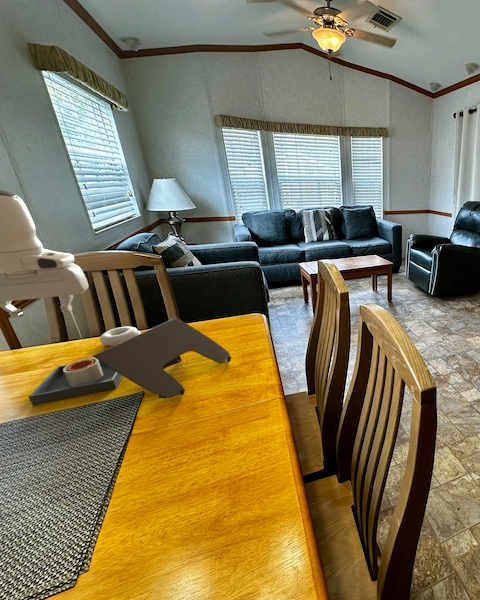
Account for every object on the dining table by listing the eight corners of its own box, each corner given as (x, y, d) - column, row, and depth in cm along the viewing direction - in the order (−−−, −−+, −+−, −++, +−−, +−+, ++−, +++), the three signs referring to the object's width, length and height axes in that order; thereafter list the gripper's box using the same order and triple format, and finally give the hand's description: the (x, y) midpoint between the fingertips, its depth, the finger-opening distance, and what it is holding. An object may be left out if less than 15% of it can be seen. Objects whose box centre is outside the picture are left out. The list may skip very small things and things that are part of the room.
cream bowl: (64, 389, 83) (57, 374, 81) (76, 375, 89) (70, 361, 87) (98, 383, 86) (92, 368, 84) (107, 369, 91) (102, 355, 90)
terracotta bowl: (70, 385, 84) (64, 372, 82) (78, 374, 88) (73, 362, 87) (94, 380, 86) (89, 367, 84) (101, 370, 90) (96, 357, 89)
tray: (32, 405, 78) (28, 396, 77) (61, 374, 90) (57, 366, 89) (116, 388, 84) (112, 380, 83) (132, 361, 96) (129, 353, 96)
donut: (143, 331, 114) (108, 336, 111) (141, 322, 113) (105, 327, 109) (135, 344, 106) (96, 350, 102) (132, 335, 104) (92, 340, 101)
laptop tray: (166, 423, 81) (170, 399, 77) (91, 375, 82) (91, 349, 78) (234, 372, 101) (240, 350, 97) (173, 334, 103) (176, 311, 99)
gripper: (-53, 268, 71) (-24, 325, 76) (69, 260, 79) (88, 312, 84) (-32, 261, 76) (-6, 315, 81) (81, 254, 84) (98, 304, 89)
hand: (43, 314), depth 82 cm, fingers open, 8 cm apart
